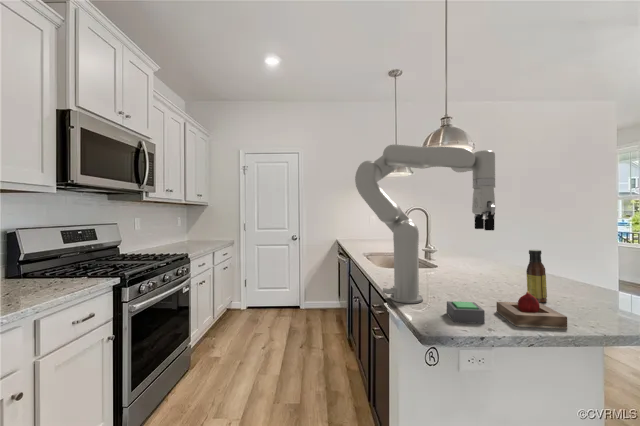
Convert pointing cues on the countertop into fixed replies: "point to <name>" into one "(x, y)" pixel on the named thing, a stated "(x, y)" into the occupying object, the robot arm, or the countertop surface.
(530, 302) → the onion
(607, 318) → the countertop surface
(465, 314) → the button housing
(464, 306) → the button
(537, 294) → the sauce bottle
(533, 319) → the open box
